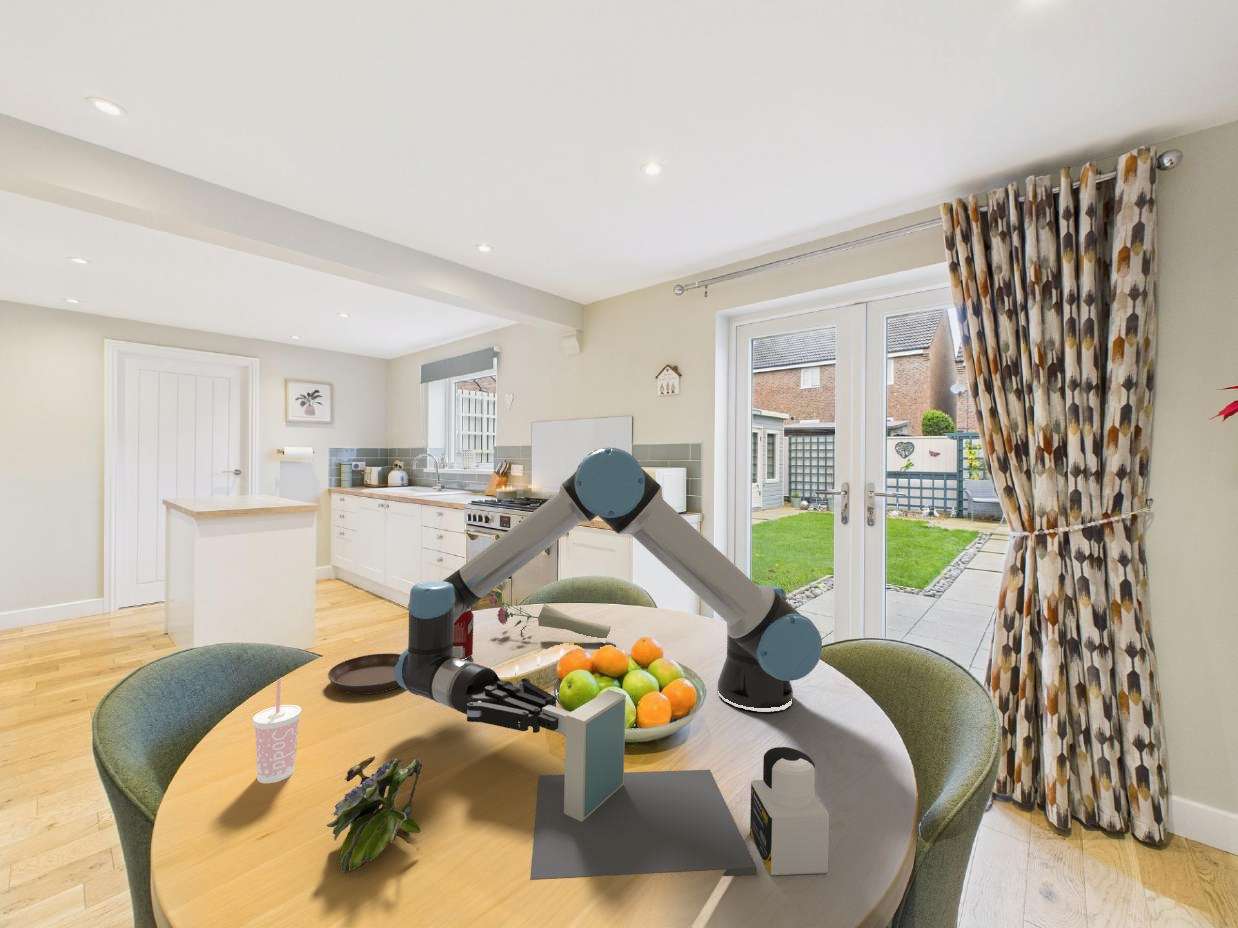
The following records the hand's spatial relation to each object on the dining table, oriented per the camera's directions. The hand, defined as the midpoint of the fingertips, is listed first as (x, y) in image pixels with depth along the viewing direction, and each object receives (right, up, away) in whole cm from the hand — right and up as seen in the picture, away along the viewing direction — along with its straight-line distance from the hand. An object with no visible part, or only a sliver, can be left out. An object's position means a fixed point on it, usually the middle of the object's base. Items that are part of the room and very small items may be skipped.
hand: (579, 727), depth 75 cm
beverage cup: (-46, -9, +4) cm, 47 cm away
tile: (+2, -9, -1) cm, 9 cm away
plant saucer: (-47, -10, +39) cm, 62 cm away
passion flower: (-24, -10, -9) cm, 27 cm away
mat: (+8, -10, -5) cm, 13 cm away
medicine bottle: (+26, -11, -10) cm, 30 cm away
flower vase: (-14, -11, +69) cm, 72 cm away
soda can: (-33, -10, +53) cm, 64 cm away
